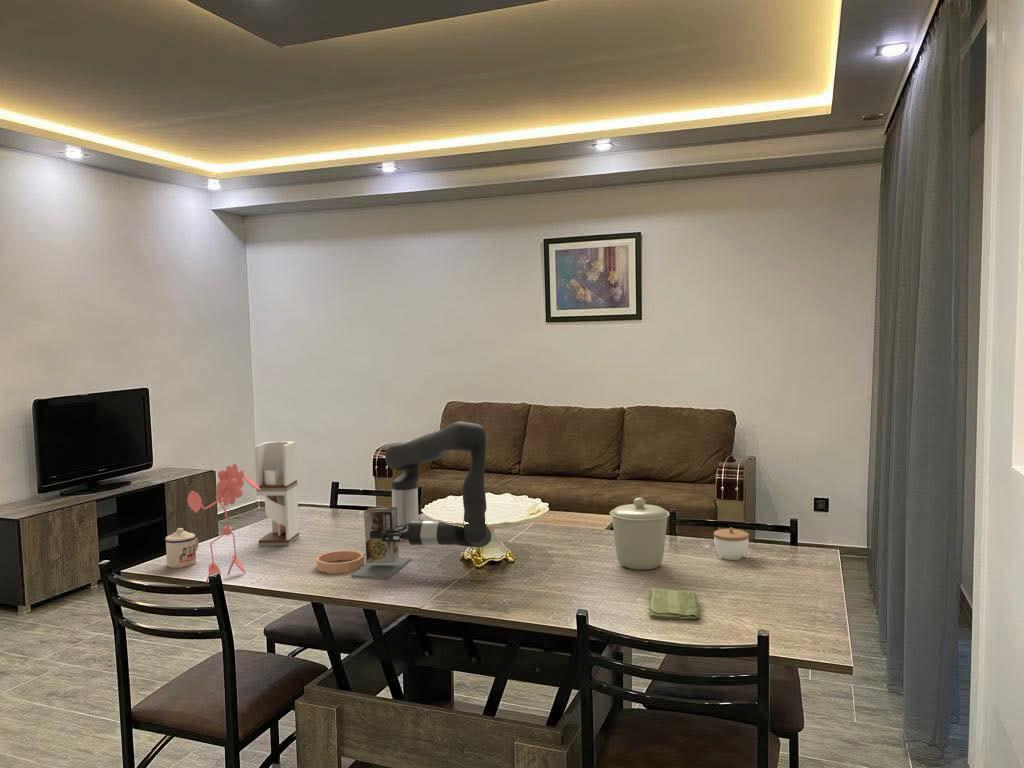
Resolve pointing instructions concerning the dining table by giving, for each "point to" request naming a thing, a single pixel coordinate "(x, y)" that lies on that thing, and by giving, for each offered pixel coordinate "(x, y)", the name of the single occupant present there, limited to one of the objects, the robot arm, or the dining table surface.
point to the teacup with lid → (181, 549)
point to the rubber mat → (381, 569)
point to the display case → (278, 490)
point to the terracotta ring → (343, 566)
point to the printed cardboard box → (375, 547)
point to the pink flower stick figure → (229, 491)
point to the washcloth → (673, 604)
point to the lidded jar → (731, 543)
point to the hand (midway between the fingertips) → (374, 531)
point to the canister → (639, 534)
